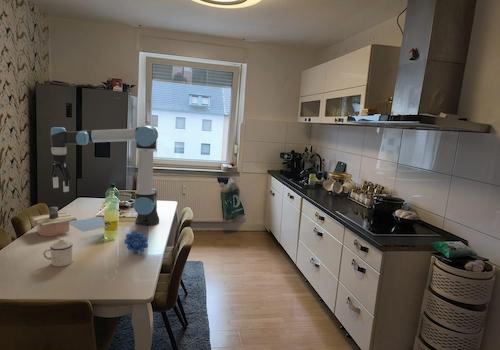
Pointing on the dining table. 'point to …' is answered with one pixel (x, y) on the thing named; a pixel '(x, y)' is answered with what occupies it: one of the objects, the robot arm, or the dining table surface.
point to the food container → (124, 196)
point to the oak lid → (53, 217)
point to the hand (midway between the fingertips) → (61, 189)
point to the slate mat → (88, 224)
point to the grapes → (136, 241)
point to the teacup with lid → (60, 253)
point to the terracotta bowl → (53, 229)
